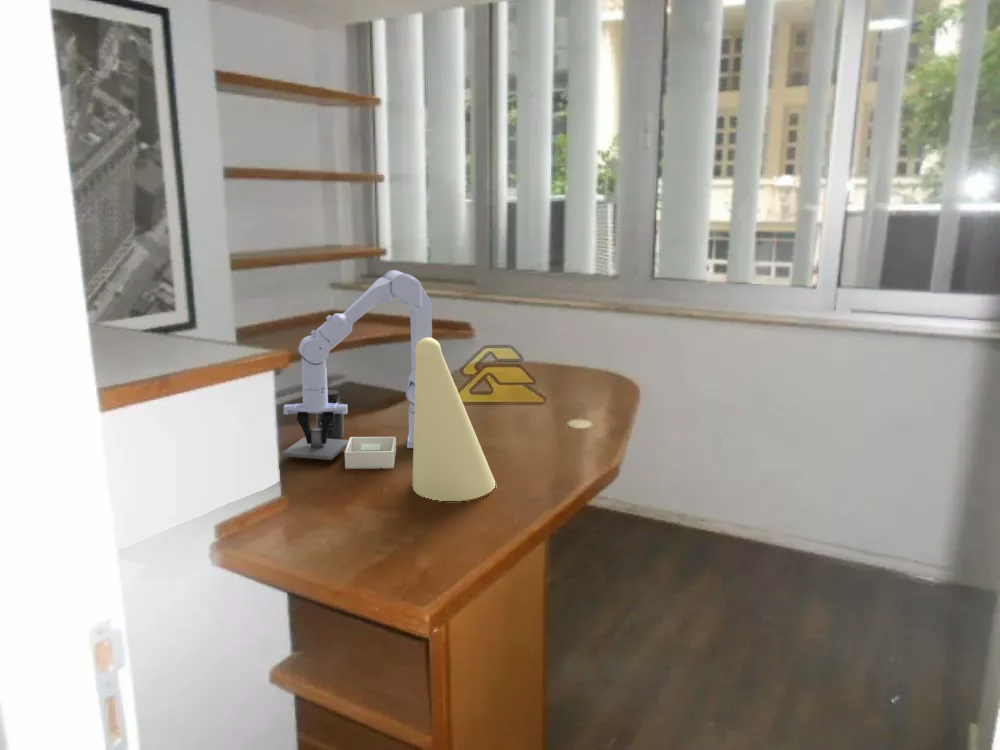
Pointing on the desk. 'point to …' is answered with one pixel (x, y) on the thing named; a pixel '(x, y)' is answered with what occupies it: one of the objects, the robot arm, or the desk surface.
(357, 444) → the white open box
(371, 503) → the desk surface
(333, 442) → the gray lid
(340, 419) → the supplement bottle
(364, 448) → the sage block
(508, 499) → the desk surface
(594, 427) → the desk surface
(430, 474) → the cone light
